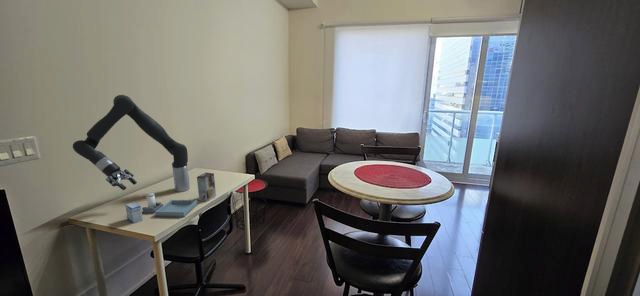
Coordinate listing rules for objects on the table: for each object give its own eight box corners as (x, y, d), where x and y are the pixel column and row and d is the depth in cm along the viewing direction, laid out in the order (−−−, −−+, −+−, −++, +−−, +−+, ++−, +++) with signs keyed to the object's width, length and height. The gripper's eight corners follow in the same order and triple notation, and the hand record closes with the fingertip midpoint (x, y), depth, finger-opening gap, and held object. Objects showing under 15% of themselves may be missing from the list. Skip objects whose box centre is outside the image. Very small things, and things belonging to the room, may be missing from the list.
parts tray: (171, 204, 166) (171, 199, 165) (197, 204, 166) (197, 200, 165) (155, 216, 150) (155, 211, 150) (184, 217, 150) (183, 212, 149)
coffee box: (207, 195, 180) (205, 172, 177) (216, 196, 179) (214, 173, 175) (198, 200, 172) (196, 176, 168) (207, 201, 170) (205, 177, 166)
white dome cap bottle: (151, 208, 160) (149, 192, 158) (158, 208, 160) (155, 192, 158) (146, 211, 156) (144, 195, 154) (153, 211, 156) (151, 195, 154)
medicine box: (127, 219, 147) (124, 204, 145) (136, 216, 150) (134, 201, 148) (133, 223, 143) (131, 208, 141) (143, 220, 146) (140, 205, 144)
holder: (151, 206, 162) (151, 202, 161) (163, 207, 162) (162, 202, 161) (143, 212, 154) (142, 208, 154) (155, 213, 154) (154, 208, 154)
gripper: (101, 166, 145) (125, 186, 147) (121, 159, 159) (142, 177, 161) (93, 175, 146) (117, 195, 149) (113, 167, 160) (135, 186, 163)
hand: (130, 186), depth 155 cm, fingers open, 8 cm apart
